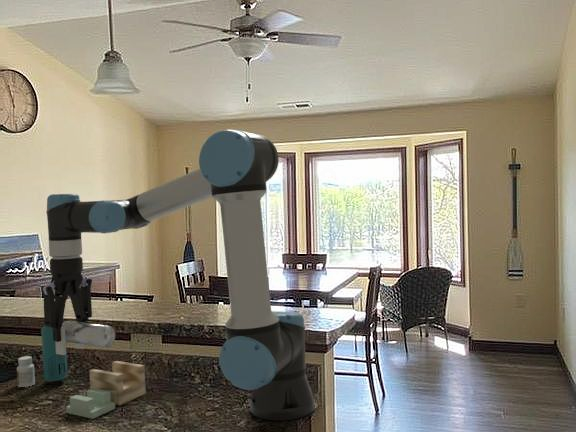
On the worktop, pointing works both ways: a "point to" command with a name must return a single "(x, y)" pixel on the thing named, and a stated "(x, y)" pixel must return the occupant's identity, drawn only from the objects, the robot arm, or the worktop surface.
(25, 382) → the pill bottle
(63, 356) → the beverage bottle
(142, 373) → the wooden bracket
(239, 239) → the robot arm
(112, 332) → the axle
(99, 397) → the v block
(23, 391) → the worktop surface
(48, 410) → the worktop surface
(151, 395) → the worktop surface
